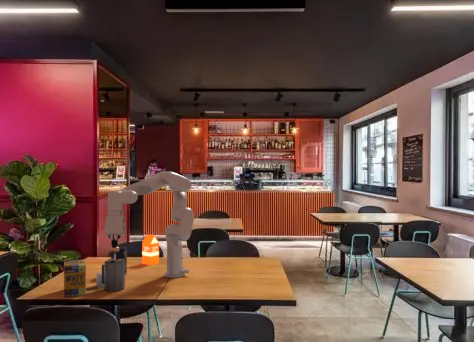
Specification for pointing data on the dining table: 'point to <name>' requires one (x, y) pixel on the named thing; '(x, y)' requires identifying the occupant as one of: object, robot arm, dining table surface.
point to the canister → (121, 255)
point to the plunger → (115, 252)
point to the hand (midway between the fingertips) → (114, 247)
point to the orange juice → (150, 250)
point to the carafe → (114, 275)
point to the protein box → (74, 278)
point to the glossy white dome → (99, 279)
